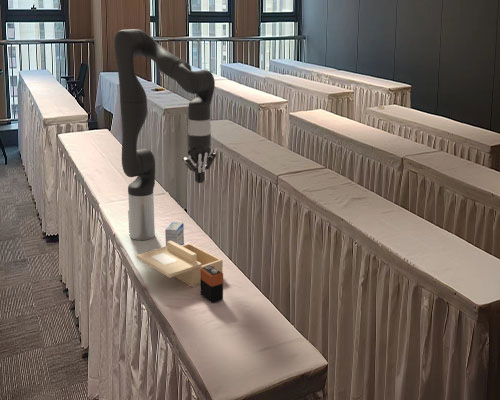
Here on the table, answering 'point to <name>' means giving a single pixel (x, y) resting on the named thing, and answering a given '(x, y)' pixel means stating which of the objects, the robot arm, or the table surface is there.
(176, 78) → the robot arm
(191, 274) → the box
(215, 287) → the battery
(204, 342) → the table surface
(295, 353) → the table surface
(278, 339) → the table surface
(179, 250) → the lid
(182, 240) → the medicine box
